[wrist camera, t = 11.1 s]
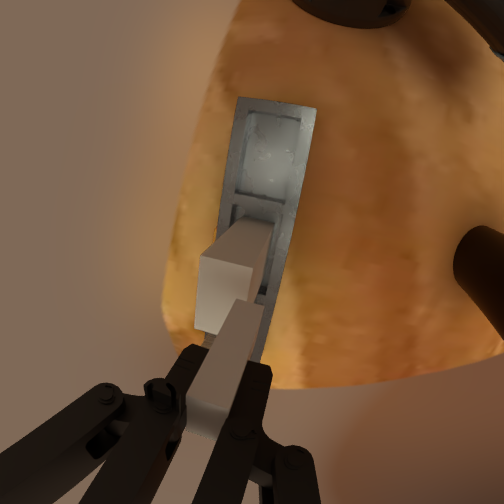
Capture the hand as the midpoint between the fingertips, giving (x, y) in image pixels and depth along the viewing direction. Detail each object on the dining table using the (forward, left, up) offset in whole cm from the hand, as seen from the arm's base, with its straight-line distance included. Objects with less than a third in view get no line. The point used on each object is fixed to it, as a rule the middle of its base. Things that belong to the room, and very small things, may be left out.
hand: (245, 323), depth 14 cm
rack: (+1, -2, -16) cm, 16 cm away
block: (+1, -2, -16) cm, 16 cm away
